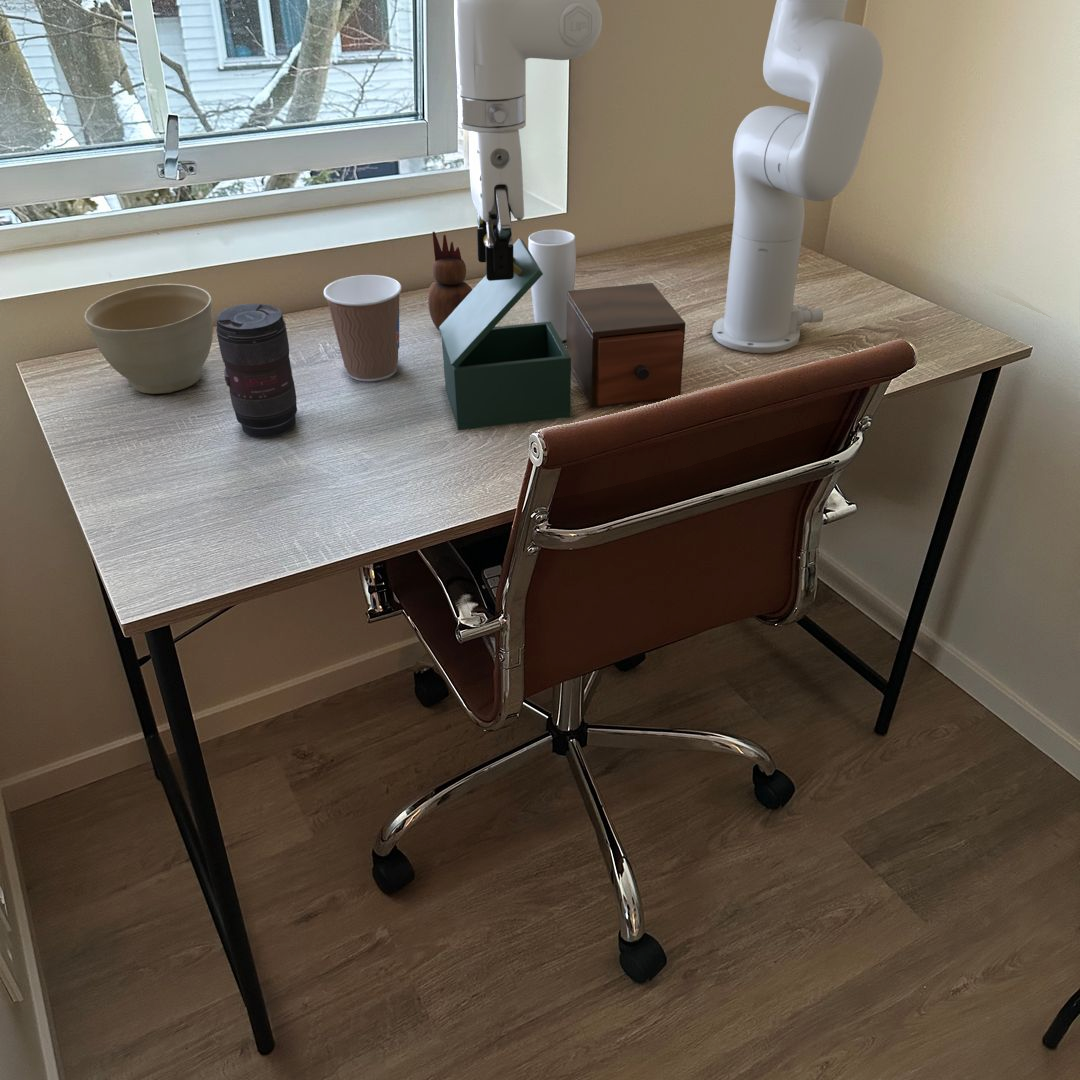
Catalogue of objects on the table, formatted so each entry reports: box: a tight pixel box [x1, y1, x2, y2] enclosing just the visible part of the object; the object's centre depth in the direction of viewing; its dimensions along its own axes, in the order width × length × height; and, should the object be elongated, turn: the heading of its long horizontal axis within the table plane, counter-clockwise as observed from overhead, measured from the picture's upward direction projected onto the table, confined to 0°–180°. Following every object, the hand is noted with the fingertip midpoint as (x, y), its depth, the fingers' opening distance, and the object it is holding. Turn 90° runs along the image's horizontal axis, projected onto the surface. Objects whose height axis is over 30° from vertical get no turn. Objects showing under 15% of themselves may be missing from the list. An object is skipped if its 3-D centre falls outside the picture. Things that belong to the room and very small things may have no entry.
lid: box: [439, 233, 543, 368], centre depth 124 cm, size 15×12×5 cm
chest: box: [441, 322, 572, 431], centre depth 132 cm, size 15×12×8 cm
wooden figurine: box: [427, 231, 473, 332], centre depth 149 cm, size 7×6×15 cm
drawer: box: [596, 330, 684, 406], centre depth 134 cm, size 14×11×9 cm
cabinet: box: [566, 282, 686, 409], centre depth 136 cm, size 14×12×11 cm
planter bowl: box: [84, 283, 214, 395], centre depth 138 cm, size 16×16×11 cm
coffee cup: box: [323, 274, 403, 382], centre depth 139 cm, size 10×10×12 cm
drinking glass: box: [527, 229, 577, 342], centre depth 147 cm, size 7×7×15 cm
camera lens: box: [215, 303, 298, 439], centre depth 126 cm, size 8×8×15 cm
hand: (495, 268), depth 123 cm, fingers closed on lid, 5 cm apart
